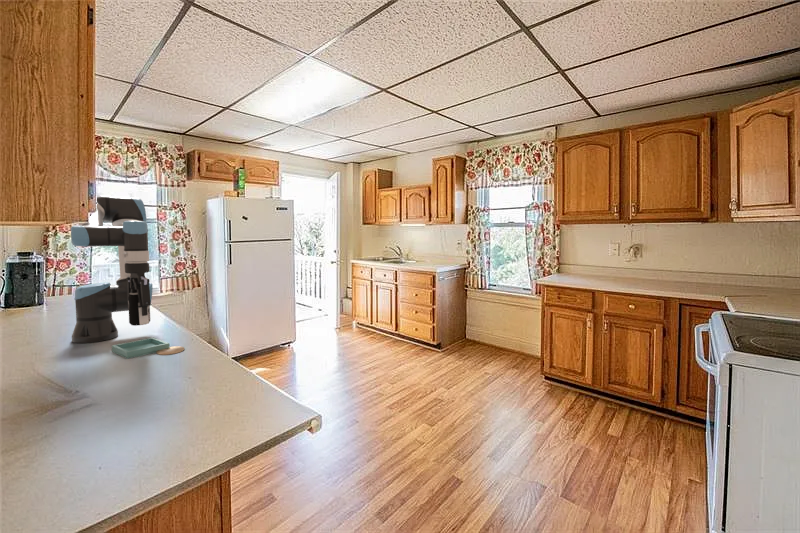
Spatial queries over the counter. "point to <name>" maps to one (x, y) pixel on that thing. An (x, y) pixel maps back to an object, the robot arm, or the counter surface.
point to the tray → (139, 347)
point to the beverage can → (135, 309)
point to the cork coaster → (170, 350)
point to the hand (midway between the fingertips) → (139, 322)
